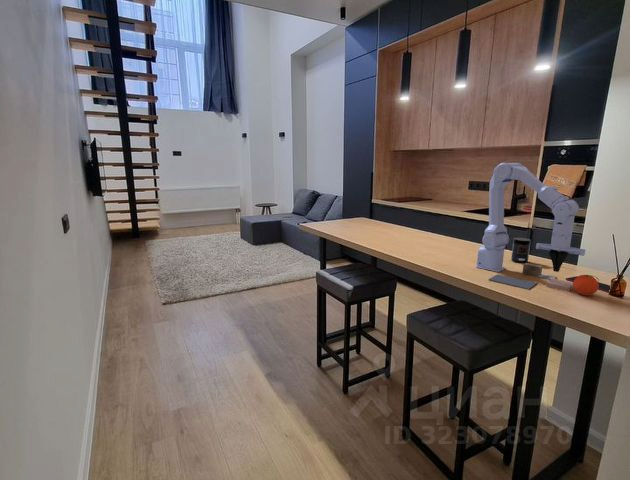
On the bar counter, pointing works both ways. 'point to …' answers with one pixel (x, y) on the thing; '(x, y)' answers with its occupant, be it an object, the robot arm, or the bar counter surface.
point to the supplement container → (520, 250)
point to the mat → (513, 281)
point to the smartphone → (601, 286)
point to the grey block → (535, 271)
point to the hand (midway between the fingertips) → (556, 271)
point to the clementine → (586, 284)
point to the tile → (560, 284)
